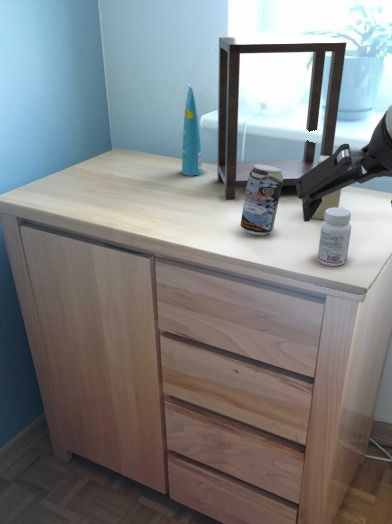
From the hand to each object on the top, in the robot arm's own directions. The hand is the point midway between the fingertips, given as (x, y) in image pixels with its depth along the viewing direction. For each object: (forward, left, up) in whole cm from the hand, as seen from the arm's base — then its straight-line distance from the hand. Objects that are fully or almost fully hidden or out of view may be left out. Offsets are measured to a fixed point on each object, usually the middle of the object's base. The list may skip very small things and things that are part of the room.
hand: (350, 211), depth 83 cm
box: (+12, -23, -10) cm, 28 cm away
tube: (+50, -33, -10) cm, 61 cm away
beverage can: (+19, -9, -10) cm, 23 cm away
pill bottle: (+3, -4, -10) cm, 12 cm away
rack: (+29, -33, -10) cm, 45 cm away
